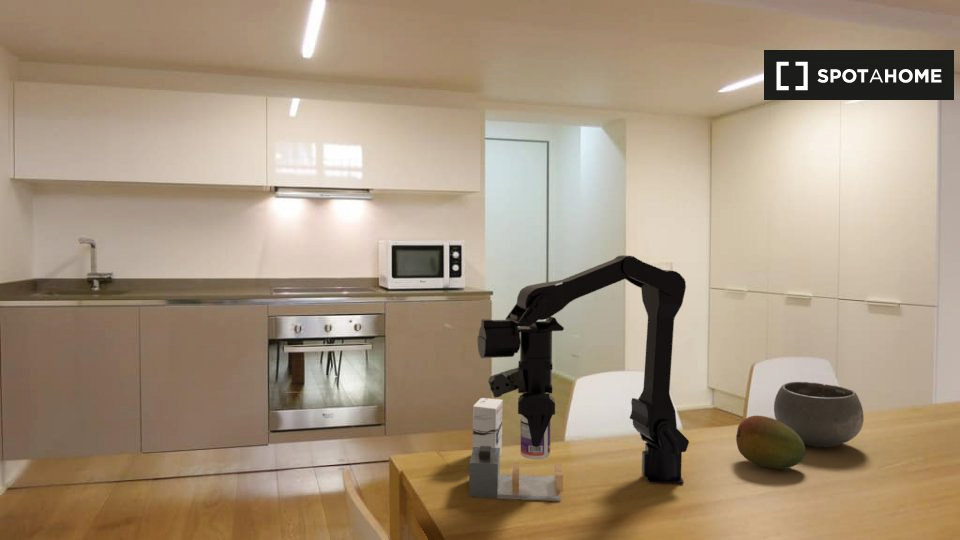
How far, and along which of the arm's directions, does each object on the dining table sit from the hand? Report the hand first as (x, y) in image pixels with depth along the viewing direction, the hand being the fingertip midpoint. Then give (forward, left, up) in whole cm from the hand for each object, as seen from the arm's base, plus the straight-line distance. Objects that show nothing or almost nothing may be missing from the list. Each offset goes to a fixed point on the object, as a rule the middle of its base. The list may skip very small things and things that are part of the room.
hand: (535, 441), depth 119 cm
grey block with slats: (+3, 0, -9) cm, 9 cm away
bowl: (-63, -33, -9) cm, 72 cm away
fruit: (-47, -17, -9) cm, 51 cm away
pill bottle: (0, 0, -3) cm, 3 cm away
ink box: (+10, -16, -9) cm, 21 cm away
